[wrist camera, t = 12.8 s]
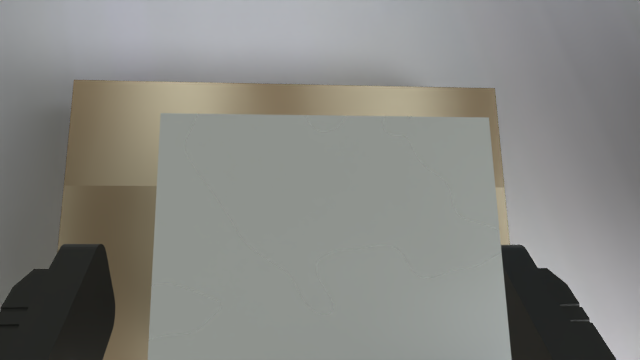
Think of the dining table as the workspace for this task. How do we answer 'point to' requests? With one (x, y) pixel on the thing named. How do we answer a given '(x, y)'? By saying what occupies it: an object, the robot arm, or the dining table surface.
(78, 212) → the well block
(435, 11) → the dining table surface
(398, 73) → the dining table surface
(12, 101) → the dining table surface
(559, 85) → the dining table surface
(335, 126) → the plain gray rectangular block
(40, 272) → the robot arm
